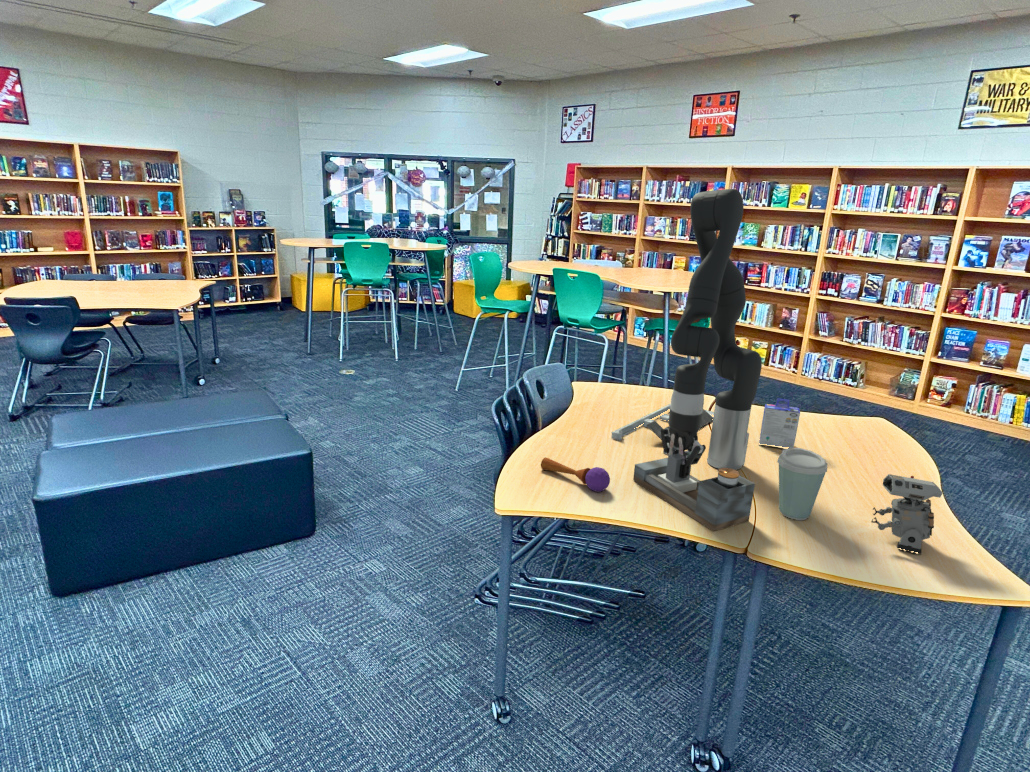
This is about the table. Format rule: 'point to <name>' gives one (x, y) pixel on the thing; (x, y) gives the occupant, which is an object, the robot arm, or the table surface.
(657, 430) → the paper cutter
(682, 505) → the grey stepped base
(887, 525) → the figurine
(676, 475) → the carriage
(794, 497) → the disposable coffee cup
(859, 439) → the table surface
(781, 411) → the ink cartridge box
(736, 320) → the robot arm
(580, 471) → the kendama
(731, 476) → the button
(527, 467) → the table surface
